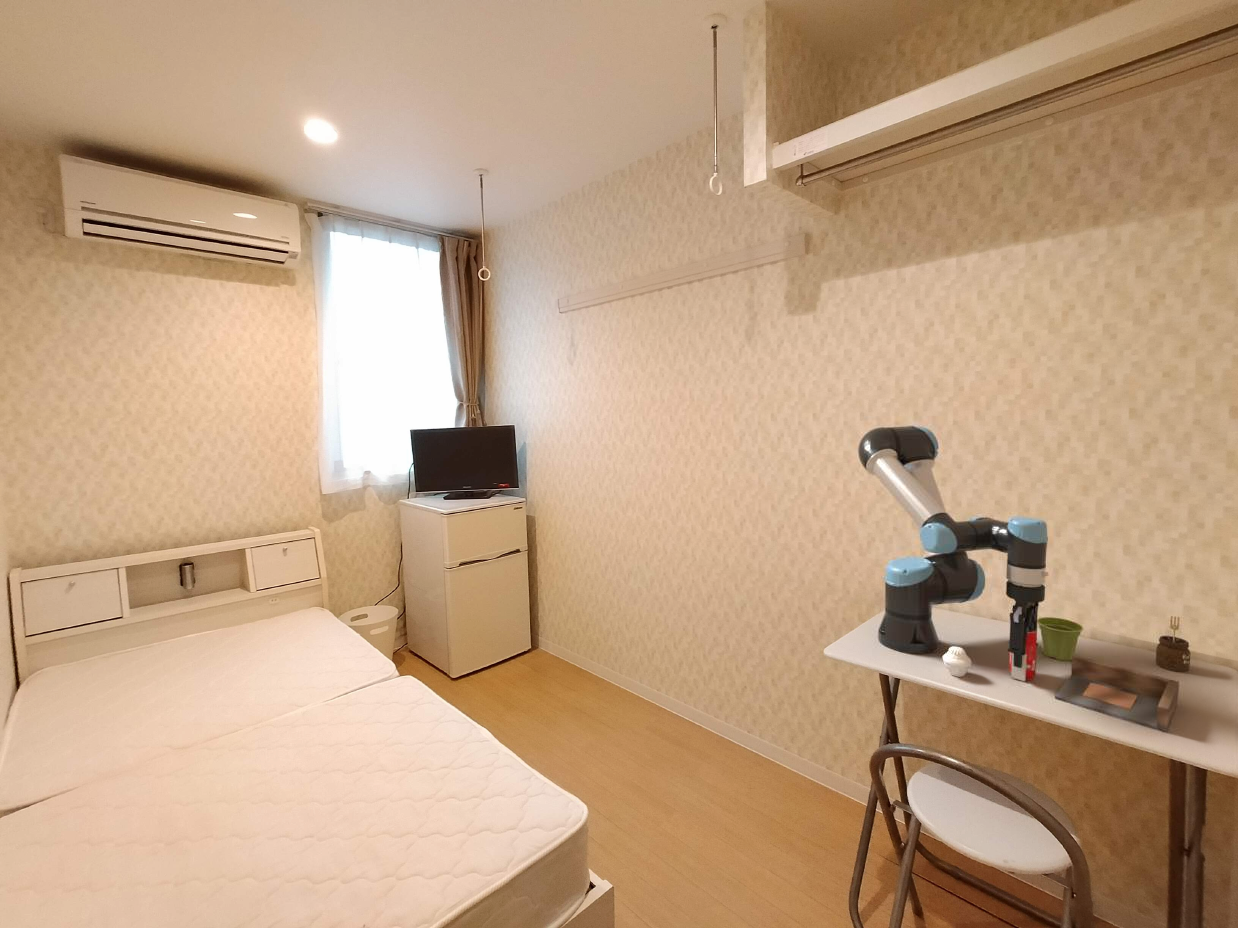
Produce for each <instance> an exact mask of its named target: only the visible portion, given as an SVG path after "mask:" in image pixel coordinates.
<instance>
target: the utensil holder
mask: <svg viewBox="0 0 1238 928" xmlns="http://www.w3.org/2000/svg"><path fill="white" fill-rule="evenodd" d="M1166 629H1167V630H1166V631H1168V632H1170V631H1171V630H1173V632H1172V634H1173V635H1161V636H1159V639H1158V644H1157V645H1156V650H1155V651H1156V652H1155V662H1156V665H1157V666H1159V667H1160V668H1163V669H1165V670H1169V671H1172V672H1178V673H1180V672H1181V673H1186V672H1187V671H1189V669H1190V666H1191V652H1190V649H1189V647H1190V643H1189V641H1187V640H1185V639H1183V638H1181V637H1180V636H1181V635H1182V634H1181V630H1180V617H1179V616H1174V617H1173V615H1170V625H1169V626H1168V627H1167V628H1166ZM1176 631H1177V636H1176Z"/></svg>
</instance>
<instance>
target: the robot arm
mask: <svg viewBox="0 0 1238 928" xmlns="http://www.w3.org/2000/svg"><path fill="white" fill-rule="evenodd" d="M857 450H858V451H857V452H858V459H859V461H860V463H861V465H862V467H863V468H864V470H866V471H867V472H868V474H870V475H872V476H876V478H877V479H878V481H880V483H881V484H882V485H883V486H884V487H885V488H886V489H887V491H888V492H889V493H890V494H891V495H892V497H893V498H894V499H895V500H896V501H897V503H898V504H899V505H900V506H901V507H902V509H903V510H904V511H905V512H906V513H907V515H909V516H910V518H911V519H912V520H913V521H914V523H915V525H916V528H917V532H918V534H919V540H920V541H921V545H922V547H923V550H924V554H923V555H922V557H916V556H913V557H909V556H906V557H898V558H895V559H893V560H891V561H889V562H888V563H887V565H886V567H885V574H884V583H885V586H884V590H885V591H884V592H885V594H884V595H885V596H884V598H885V599H884V615H883V617H882V619H881V623H880V625H879V628H878V630H877V640H878V639H879V640H878V642H879V643H881V644H882V645H883V646H884V647H887V648H889V649H892V650H895V651H899V652H902V653H909V654H929V653H934V652H935V651H937V650H938V649H939V641H940V640H939V636H938V633H937V631H936V628H935V624H934V621H933V617H932V614H933V613H932V612H933V611H932V610H933V606H937V605H946V604H947V605H948V604H956V603H958V604H963V603H966V602H971V601H975V600H977V599H978V598H979V597H981V596H982V594H983V591H984V590H985V587H986V574H985V571H984V569H983V567H982V566H981V565H980V563H978V562H977V561H976V560H975V559H971V558H969V555H968V553H967V552H968V551H969V552H971V551H972V552H973V551H983V550H984V551H985V550H993V551H997V552H999V553H1004V554H1006V557H1007V559H1006V562H1007V563H1006V577H1005V578H1006V579H1007V580H1006V586H1005V590H1006V591H1005V595H1006V596H1007V597H1008V598H1010V599H1012V600H1014V601H1015V603H1014V604H1013V605H1012V608H1011V609H1012V610H1011V611H1012V612H1010V613H1009V622H1010V624H1009V642H1008V643H1009V646H1008V648H1007V651H1008V652H1009V653H1010V652H1011V653H1012V669H1011V672H1010V674H1011V676H1010V677H1011V678H1012V679H1015V680H1019V681H1023V682H1026V681H1027V680H1026V655H1027V654H1025V648H1026V639H1027V631H1028V627H1030V628H1031V627H1032V628H1034V629H1035V630H1036V633H1037V634H1038V623H1037V620H1038V612H1039V606H1040V604H1039V603H1041V602H1044V601H1045V600H1046V599H1045V597H1046V586H1045V585H1044V584H1045V583H1046V577H1048V576H1049V572H1047V571H1046V567H1047V548H1048V541H1049V538H1048V525H1047V523H1046V521H1044V520H1043V519H1040V518H1036V517H1029V516H1028V517H1027V516H1026V517H1025V516H1015V517H1014V516H1013V517H1011V518H1009V520H1008V521H1007V522H1006V521H1002V520H998V519H994V518H991V517H987V516H973V517H971V518H970V519H969V520H967V521H965V520H964V521H963V520H961V521H956V520H954V519H953V517H952V516H951V515H950V514H949V513H948V512H947V511H946V508H945V505H944V502H943V499H942V495H941V493H940V491H939V487H938V484H937V482H936V479H935V476H934V473H933V468H934V466H935V464H936V462H935V459H936V458H937V457H938V453H939V451H938V450H939V443H938V439H937V437H936V435H935V434H934V433H933V432H932V431H931V430H930V429H929V428H927V427H924V426H920V425H919V426H917V425H905V426H893V427H892V426H889V427H884V426H883V427H876V428H873V429H871V430H868V432H867V433H866V434H864V435H863V437H862V438H861V440H860V441H859V444H858V449H857ZM1038 647H1039V642H1037V647H1036V648H1038Z"/></svg>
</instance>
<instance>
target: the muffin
mask: <svg viewBox="0 0 1238 928" xmlns="http://www.w3.org/2000/svg"><path fill="white" fill-rule="evenodd" d="M942 660H943V665H944V666H945V668H946V670H947V671H948V674H949V675H952V676H954V677H959V678H960V677H964V676H965V675H966V674H967V672H968V671H969V670H970V667H971V665H972V660H971V658H970V657H969V656H968V655H967V654H966V651H965V649H964V648H962V647H959V646H951V647H949V648H948V651H947V652H945V654H943V655H942Z"/></svg>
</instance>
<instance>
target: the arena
mask: <svg viewBox="0 0 1238 928" xmlns="http://www.w3.org/2000/svg"><path fill="white" fill-rule="evenodd" d="M1179 685H1180V681H1178V680H1177V681H1176V680H1174V679H1169V678H1164V677H1161V676H1157V675H1155V674H1154V675H1153V674H1148V673H1145V672H1141V671H1139V670H1138V671H1137V670H1133V669H1129V668H1126V667H1123V666H1122V667H1121V666H1118V665H1114V664H1110V663H1105V662H1101V661H1099V660H1093V659H1090V658H1087V657H1081V656H1079V655H1075V654H1074V656H1073V657H1072V659H1071V674H1070V676H1069V677H1068V679H1066V681H1065V683H1064V684H1063V685H1062V686H1061V687H1060V689H1059V690H1058V692H1057V693H1056V694H1055V696H1054V699H1056V700H1059V701H1061V702H1064V703H1069V704H1071V705H1075V706H1078V707H1081V708H1084V709H1085V708H1086V709H1088V710H1091V711H1095V712H1098V713H1100V714H1101V713H1102V714H1105V715H1108V716H1111V717H1114V718H1117V719H1121V720H1122V721H1123V720H1124V721H1127V722H1131V723H1133V724H1137V725H1140V726H1144V727H1146V726H1147V727H1146V728H1149V729H1153V730H1156V729H1158V730H1157V731H1159V730H1160V731H1159V732H1163V733H1166V734H1167V733H1168V730H1169V727H1170V725H1171V722H1172V719H1173V716H1174V714H1175V712H1176V709H1177V707H1178V701H1179V700H1178V699H1179Z"/></svg>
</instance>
